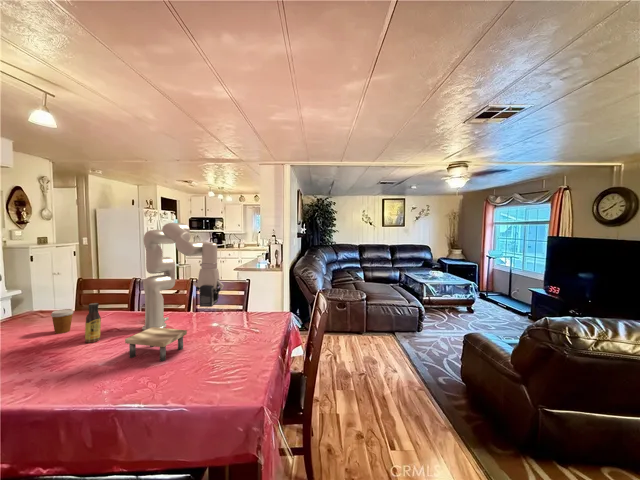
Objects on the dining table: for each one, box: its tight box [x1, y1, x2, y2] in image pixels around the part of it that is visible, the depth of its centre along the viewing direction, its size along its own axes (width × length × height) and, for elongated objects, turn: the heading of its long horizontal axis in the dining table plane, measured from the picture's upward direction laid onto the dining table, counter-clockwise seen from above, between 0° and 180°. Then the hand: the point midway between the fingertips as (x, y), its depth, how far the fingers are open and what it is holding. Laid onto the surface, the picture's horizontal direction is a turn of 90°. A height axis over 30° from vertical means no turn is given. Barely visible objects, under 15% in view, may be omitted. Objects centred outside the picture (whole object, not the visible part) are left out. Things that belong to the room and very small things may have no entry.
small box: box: [199, 285, 219, 308], centre depth 143 cm, size 11×6×10 cm, turn 5°
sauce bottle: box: [84, 302, 102, 344], centre depth 143 cm, size 7×6×20 cm
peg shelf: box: [124, 327, 188, 362], centre depth 131 cm, size 16×20×9 cm
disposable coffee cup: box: [50, 308, 75, 335], centre depth 155 cm, size 10×10×12 cm
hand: (209, 299), depth 143 cm, fingers closed on small box, 7 cm apart
